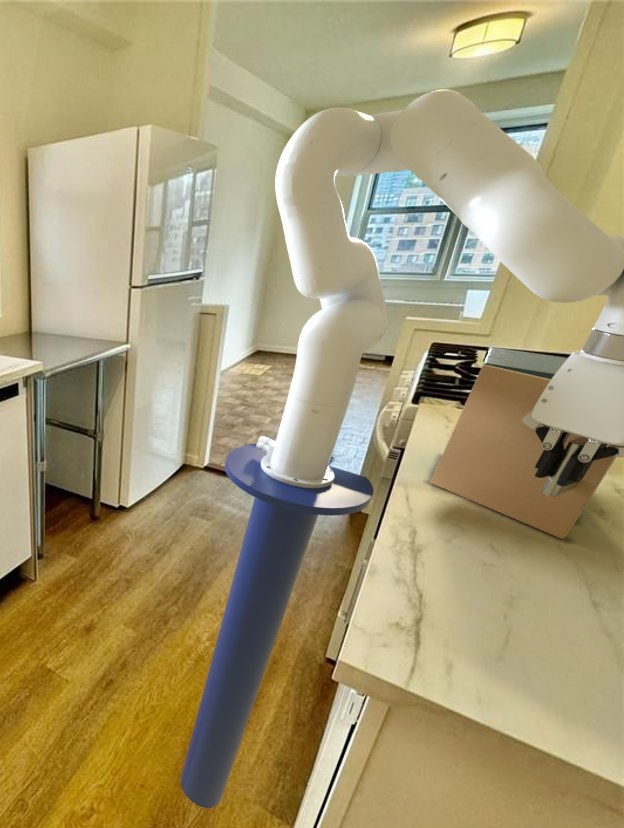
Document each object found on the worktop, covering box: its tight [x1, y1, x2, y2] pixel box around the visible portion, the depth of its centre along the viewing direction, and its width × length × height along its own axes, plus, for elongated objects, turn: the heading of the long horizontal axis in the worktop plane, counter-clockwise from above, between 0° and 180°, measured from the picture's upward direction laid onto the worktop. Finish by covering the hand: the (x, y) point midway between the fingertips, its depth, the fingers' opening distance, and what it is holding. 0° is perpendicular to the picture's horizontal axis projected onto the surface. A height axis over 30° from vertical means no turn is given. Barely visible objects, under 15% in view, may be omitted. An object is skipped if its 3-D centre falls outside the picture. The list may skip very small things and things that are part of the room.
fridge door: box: [429, 364, 618, 540], centre depth 73 cm, size 7×18×22 cm, turn 24°
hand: (554, 479), depth 67 cm, fingers closed on fridge door
